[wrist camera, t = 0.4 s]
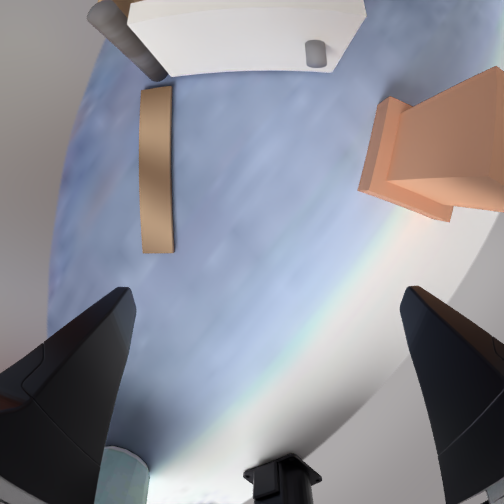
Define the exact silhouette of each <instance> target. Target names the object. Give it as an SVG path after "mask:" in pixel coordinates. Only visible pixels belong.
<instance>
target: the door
mask: <svg viewBox="0 0 504 504" xmlns="http://www.w3.org/2000/svg"><path fill="white" fill-rule="evenodd" d="M366 16H367V14H366V10H365V5H364V1H363V0H143V1H139V2H135V3H131V5H130V10H129V15H128V21H127V25H128V26H129V27H130V29H131V30H132V31H133V32H134V33H135V34H136V35H137V37H138V38H139V39H140V40H141V41H142V42H143V44H144V45H145V46H146V47H147V48H148V50H149V51H150V52H151V53H152V54H153V55H154V57H155V58H156V59H157V60H158V61H159V63H160V64H161V65H162V66H163V67H164V69H165V70H166V71H167V72H168V74H169V75H170V76H171V77H176V76H184V75H193V74H204V73H216V72H232V71H266V70H275V71H310V72H326V73H332V72H333V70H334V69H335V67H336V65H337V64H338V62H339V60H340V59H341V57H342V55H343V54H344V52H345V50H346V49H347V47H348V46H349V44H350V42H351V41H352V39H353V37H354V36H355V34H356V32H357V31H358V29H359V28H360V26H361V24H362V23H363V21H364V19H365V18H366Z"/></svg>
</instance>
